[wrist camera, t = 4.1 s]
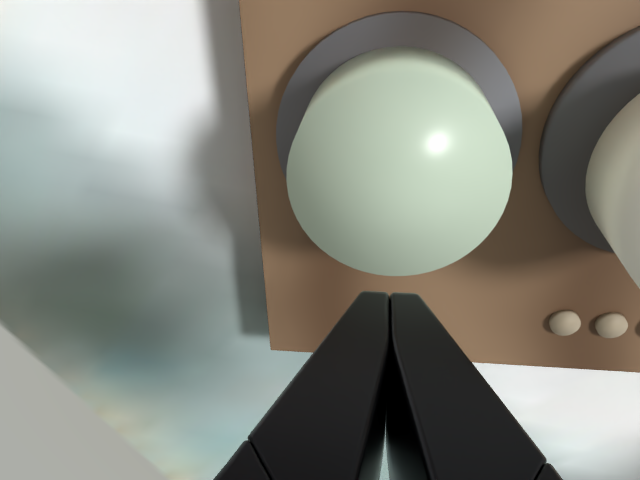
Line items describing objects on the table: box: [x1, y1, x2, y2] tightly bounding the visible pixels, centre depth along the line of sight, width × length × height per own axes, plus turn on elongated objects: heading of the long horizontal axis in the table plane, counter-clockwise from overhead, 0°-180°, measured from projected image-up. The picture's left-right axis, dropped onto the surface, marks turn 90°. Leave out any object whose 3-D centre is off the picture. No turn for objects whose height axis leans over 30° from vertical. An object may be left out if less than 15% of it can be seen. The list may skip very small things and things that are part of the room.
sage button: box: [286, 46, 513, 276], centre depth 13 cm, size 5×5×2 cm
